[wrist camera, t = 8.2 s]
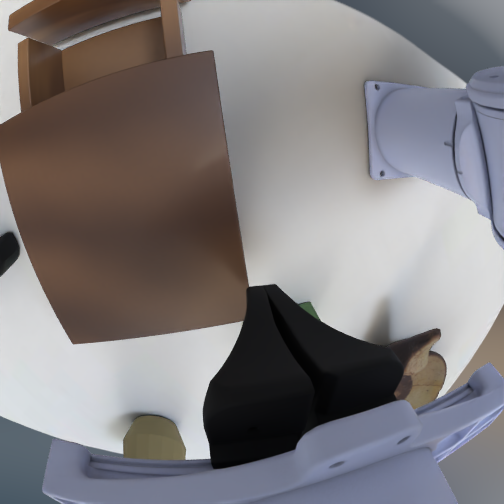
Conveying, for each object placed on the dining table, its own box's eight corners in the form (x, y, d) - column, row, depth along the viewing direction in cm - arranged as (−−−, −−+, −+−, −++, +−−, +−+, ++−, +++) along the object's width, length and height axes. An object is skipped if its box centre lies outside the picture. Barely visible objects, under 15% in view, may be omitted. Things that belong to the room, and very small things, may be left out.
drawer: (53, -13, 9) (18, -38, 4) (184, -56, 10) (182, -99, 5) (71, 188, 17) (31, 214, 12) (212, 153, 18) (215, 166, 13)
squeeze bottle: (167, 405, 29) (169, 546, 13) (195, 433, 33) (206, 550, 17) (114, 413, 29) (102, 537, 13) (146, 440, 33) (145, 547, 17)
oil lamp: (274, 442, 37) (284, 483, 30) (364, 283, 26) (408, 334, 19) (382, 425, 43) (398, 455, 36) (476, 296, 31) (509, 326, 24)
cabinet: (56, 120, 15) (-7, 128, 9) (210, 77, 16) (213, 49, 10) (102, 282, 21) (72, 344, 15) (238, 257, 22) (254, 319, 16)
